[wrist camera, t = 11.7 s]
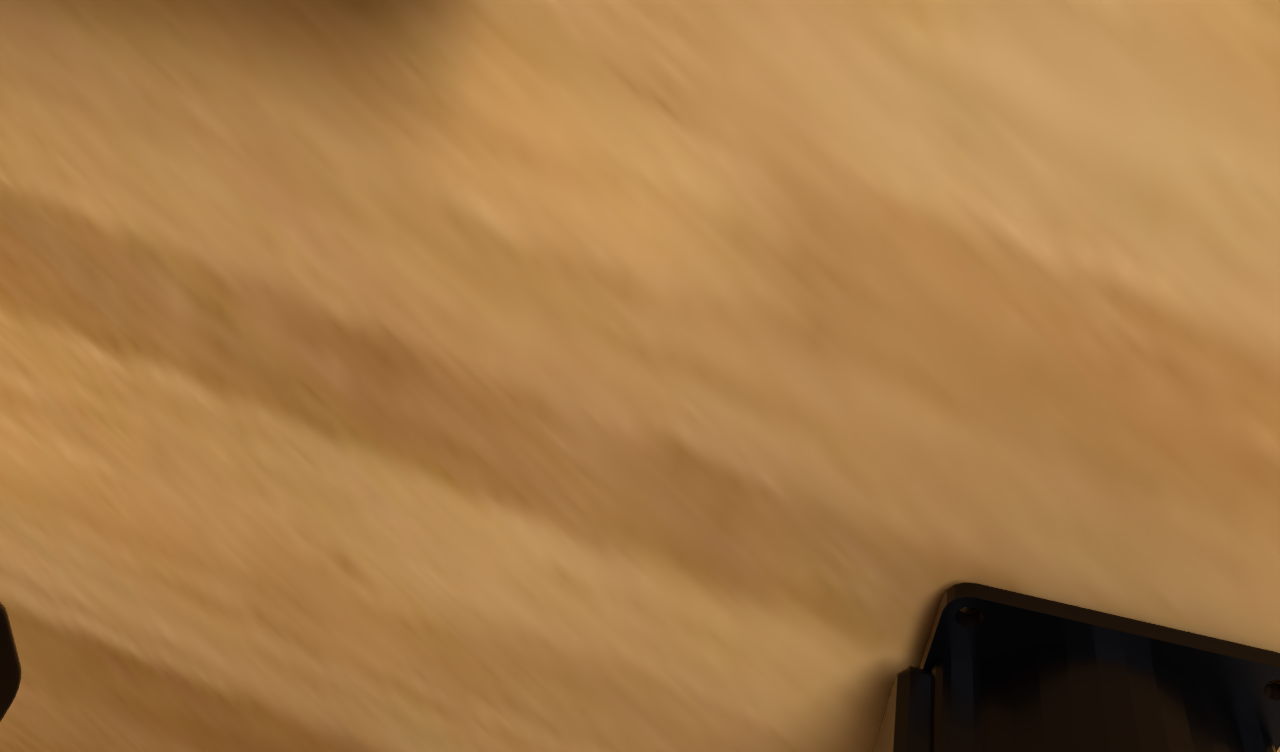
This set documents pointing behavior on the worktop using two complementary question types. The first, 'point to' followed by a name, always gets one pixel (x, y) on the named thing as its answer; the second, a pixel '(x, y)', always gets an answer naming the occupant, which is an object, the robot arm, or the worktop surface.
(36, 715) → the worktop surface
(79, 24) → the worktop surface
